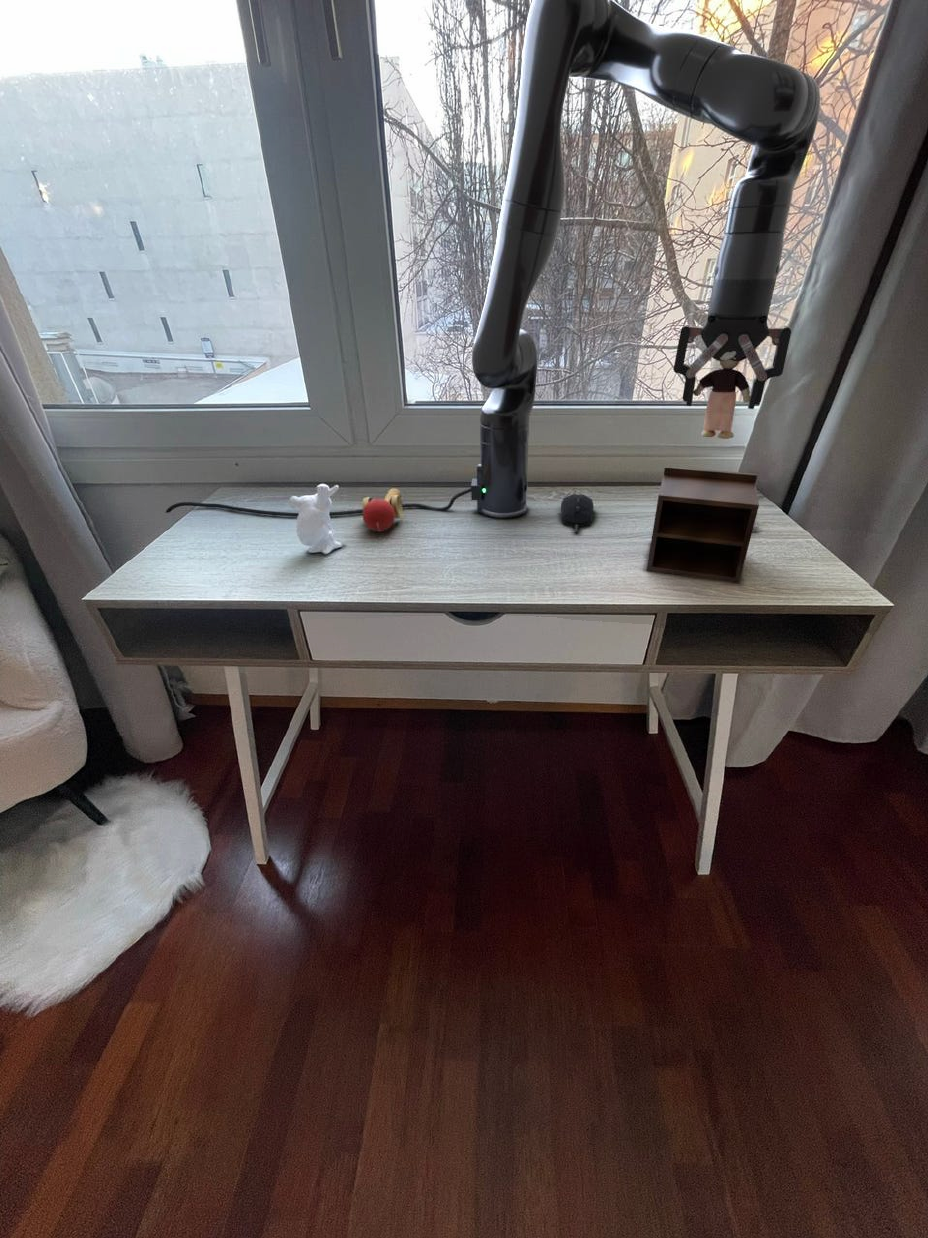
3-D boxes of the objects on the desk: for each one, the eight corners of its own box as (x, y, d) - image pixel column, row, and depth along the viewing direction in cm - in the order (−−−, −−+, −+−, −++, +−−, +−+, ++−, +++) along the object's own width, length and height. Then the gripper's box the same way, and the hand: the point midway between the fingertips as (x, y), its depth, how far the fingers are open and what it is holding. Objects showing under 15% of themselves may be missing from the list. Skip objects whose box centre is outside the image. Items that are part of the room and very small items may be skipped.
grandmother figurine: (740, 435, 88) (762, 341, 81) (741, 440, 84) (764, 343, 78) (685, 430, 90) (703, 338, 83) (684, 436, 87) (703, 341, 80)
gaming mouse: (559, 532, 110) (560, 512, 107) (561, 504, 122) (562, 485, 120) (593, 534, 109) (595, 514, 106) (592, 505, 121) (594, 486, 119)
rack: (646, 570, 96) (659, 487, 89) (652, 543, 105) (665, 466, 97) (739, 583, 92) (761, 496, 84) (737, 554, 101) (757, 473, 93)
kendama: (373, 508, 126) (352, 530, 109) (377, 478, 123) (355, 496, 107) (409, 514, 126) (393, 538, 109) (413, 485, 123) (397, 505, 107)
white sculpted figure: (349, 541, 108) (341, 477, 102) (343, 557, 102) (334, 490, 96) (303, 542, 108) (292, 478, 102) (294, 558, 102) (282, 492, 96)
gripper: (803, 273, 77) (771, 403, 86) (688, 275, 81) (669, 398, 90) (810, 275, 71) (775, 415, 80) (685, 277, 75) (665, 409, 84)
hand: (719, 406), depth 85 cm, fingers closed on grandmother figurine, 8 cm apart
